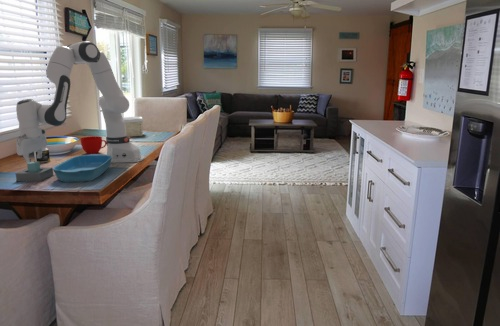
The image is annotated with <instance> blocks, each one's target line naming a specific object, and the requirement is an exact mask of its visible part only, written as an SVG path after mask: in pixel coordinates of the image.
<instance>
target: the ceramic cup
mask: <svg viewBox="0 0 500 326" xmlns="http://www.w3.org/2000/svg"><path fill="white" fill-rule="evenodd" d="M79 140H80V145H81V148H82V150H83V151H84V152H85V153H86V155H91V154H98V153H99V152H100V151H101V149H104V148H105V147H107V143H106V140H104V139H103V137H102V136H84V137H81V138H80V139H79ZM103 142H104V145H103V146H102V144H103Z"/></svg>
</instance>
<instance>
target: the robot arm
mask: <svg viewBox="0 0 500 326" xmlns="http://www.w3.org/2000/svg"><path fill="white" fill-rule="evenodd" d="M84 64H87V65H88V67H89V69H90V72H91V75H92V78H93V80H94V83H95V86H96V88H97V90H99V92H100V93H101V94H102V96H101V97H99V99H98V104H99V107H100V109H101V112H102V116H103V119H104V122H105V130H106V136H105V139H106V140H105V141H106V143H107V144H106V151H107V152H106V155H109V156H112V159H111V163H112V164H117V163H138V162H141V161H144V160H145V159H146V156H145V155H142V153H141V150H140V148H139V147H138V146H136V145H135V144H134V143H132V142H131V141H130V140H131V137H128V136H126V127H125V121H124V120H123V117H124V116H123V114H124V113H126V112H127V111H128V110H129V108H130V102H129V100H128V98H127V97H126V96H125V94H124V93H123V91H122V89H121V87H120V86H119V84H118V82H117V79H116V77H115V74H114V72H113V68H112V66H111V64H110V61H109V60H108V58H107V55H106V54H105V53H104V52H103V51H100V50H99V48H98V46H97V45H96V44H95V43H93V42H91V41H87V40H86V41H80V42H79V41H78V42H75V43H73V44H69V45H66V46H62V45H59V46H57V47H55V49H54V51H53V52H52V54H51V56H50V58H49V60H48V63H47V67H46V71H45V74H46V78H47V79H48V80H49V81H50V82H51V83H53V84H54V85H55V93H54V98H53V101H52V103H51V104H44V103H40V102H37V101H35V100H34V99H32V98H26V99H22V100H18V101H17V103H16V105H15V106H16V107H15V108H16V118H17V119H16V120H17V121H18V130H19V135H18V136H17V139H16V142H15V144H16V145H15V146H16V147H15V148H16V153H17V155H18V156H23V158H24V159H25V162H26V164H27V163H30V162H32V158H30V154H32V153H34V152H35V151H38V155H37V158H42V151H43V150H42V149H43V148H45V147H47V146H48V141H47V135H46V134H47V130H46V129H44V128H40V124H44V125H50V126H54V127H59V126H61V125H63V124H64V123H65V122H66V119H67V115H68V114H67V108H68V107H67V105H68V101H69V97H70V96H69V94H70V90H71V79H70V77H71V73H72V69H73V66H74V65H84ZM111 163H110V164H111Z"/></svg>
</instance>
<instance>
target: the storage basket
mask: <svg viewBox="0 0 500 326" xmlns="http://www.w3.org/2000/svg"><path fill="white" fill-rule="evenodd" d="M122 117H123V120H124V121H125V127H126V136H128V137H130V138H131V137H132V138H133V137H142V136H143V131H144V130H143V122H144V119H143V116H122Z"/></svg>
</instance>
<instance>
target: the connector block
mask: <svg viewBox="0 0 500 326" xmlns="http://www.w3.org/2000/svg"><path fill="white" fill-rule="evenodd" d="M26 165H27V168H28V172H39V171H41V169H40V167H41V162H36V161H31V162H30V163H26Z"/></svg>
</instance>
